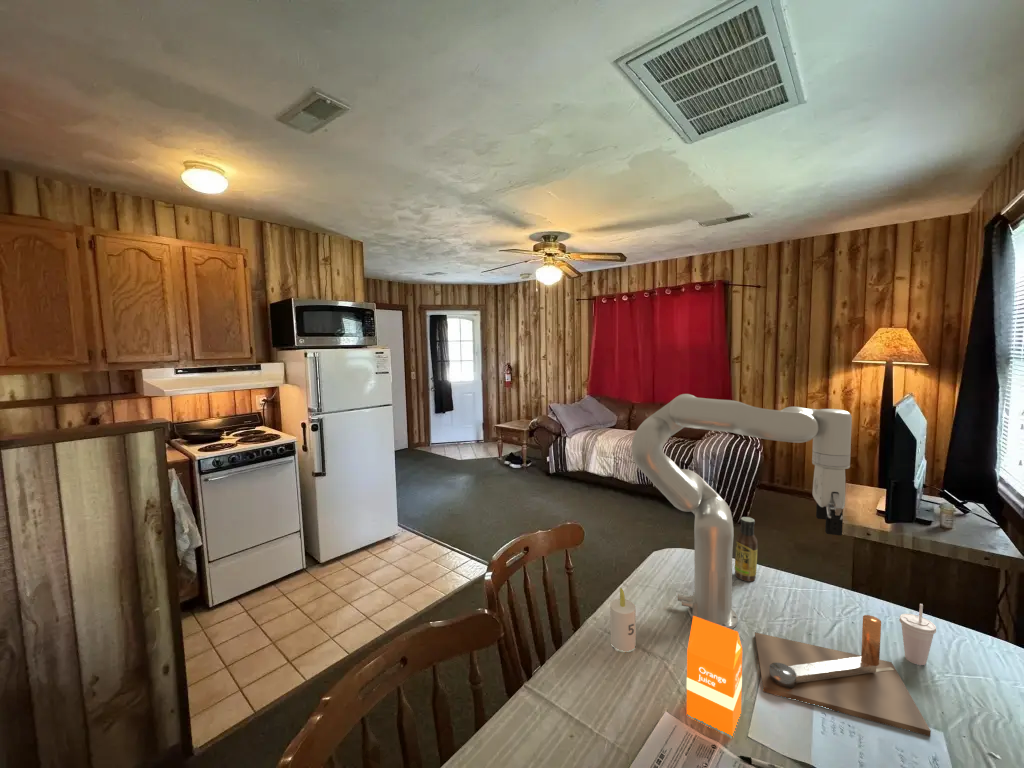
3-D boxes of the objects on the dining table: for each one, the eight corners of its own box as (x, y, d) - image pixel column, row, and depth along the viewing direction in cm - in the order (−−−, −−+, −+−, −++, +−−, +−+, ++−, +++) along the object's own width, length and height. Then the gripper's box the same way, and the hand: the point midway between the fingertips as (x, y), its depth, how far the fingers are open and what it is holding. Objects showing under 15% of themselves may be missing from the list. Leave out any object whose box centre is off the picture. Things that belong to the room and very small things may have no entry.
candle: (621, 656, 106) (621, 599, 105) (605, 640, 112) (604, 586, 111) (641, 649, 109) (641, 592, 108) (624, 633, 115) (624, 580, 114)
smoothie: (941, 671, 99) (945, 613, 98) (909, 668, 100) (912, 611, 99) (921, 652, 105) (924, 597, 104) (891, 649, 106) (893, 595, 105)
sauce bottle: (730, 574, 142) (731, 516, 141) (744, 570, 144) (745, 513, 143) (746, 584, 136) (747, 523, 135) (761, 580, 138) (762, 520, 137)
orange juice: (697, 692, 95) (698, 606, 93) (741, 713, 89) (743, 622, 88) (685, 716, 89) (686, 625, 87) (732, 740, 83) (734, 643, 82)
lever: (780, 689, 93) (781, 638, 92) (764, 672, 98) (765, 624, 97) (886, 674, 96) (889, 625, 95) (865, 658, 101) (867, 612, 100)
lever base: (763, 691, 95) (763, 686, 94) (754, 636, 112) (754, 631, 112) (930, 736, 83) (930, 730, 83) (891, 667, 101) (891, 661, 100)
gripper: (805, 450, 115) (803, 511, 117) (820, 467, 100) (818, 538, 101) (839, 452, 112) (837, 515, 114) (861, 470, 97) (857, 543, 98)
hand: (828, 526), depth 107 cm, fingers open, 9 cm apart
